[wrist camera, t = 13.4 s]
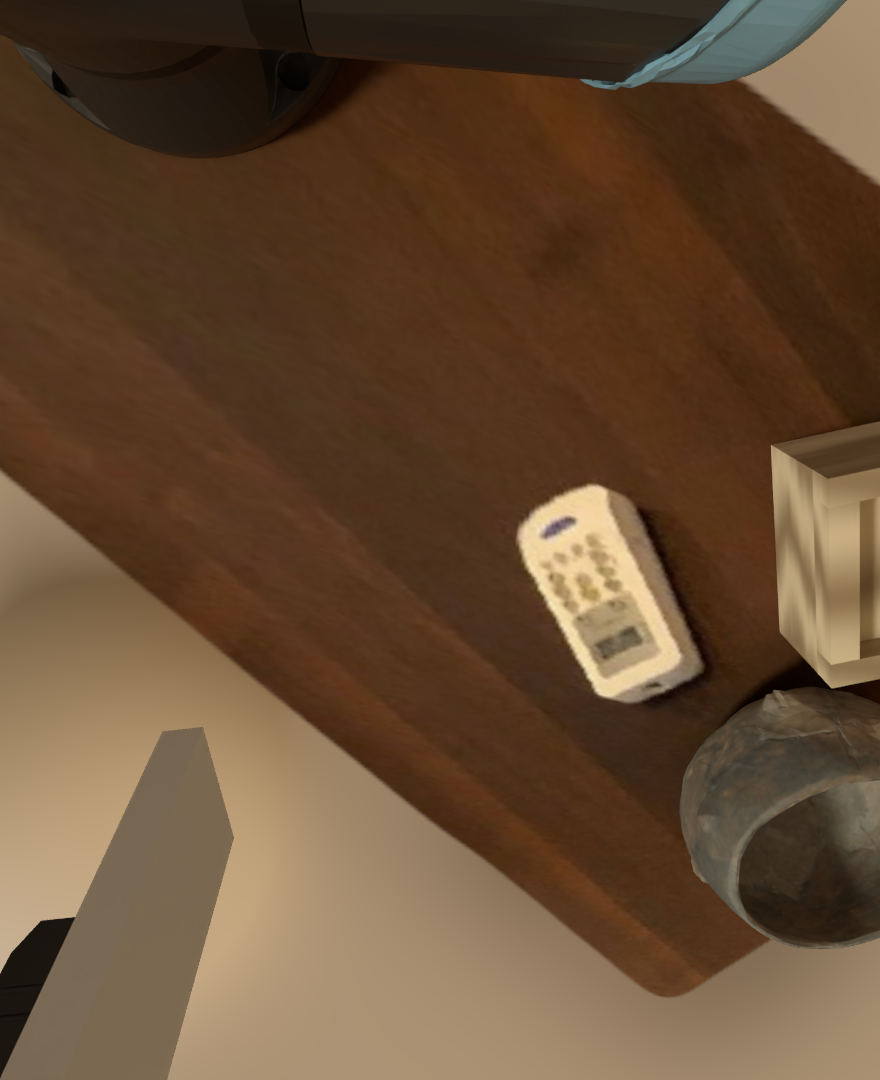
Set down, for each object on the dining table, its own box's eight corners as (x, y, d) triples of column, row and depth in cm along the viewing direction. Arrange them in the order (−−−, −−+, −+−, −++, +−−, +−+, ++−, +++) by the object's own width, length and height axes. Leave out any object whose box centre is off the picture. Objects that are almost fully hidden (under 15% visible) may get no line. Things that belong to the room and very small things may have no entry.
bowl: (927, 717, 49) (1048, 832, 40) (762, 870, 53) (836, 1005, 44) (772, 611, 45) (866, 710, 36) (610, 785, 50) (656, 911, 41)
